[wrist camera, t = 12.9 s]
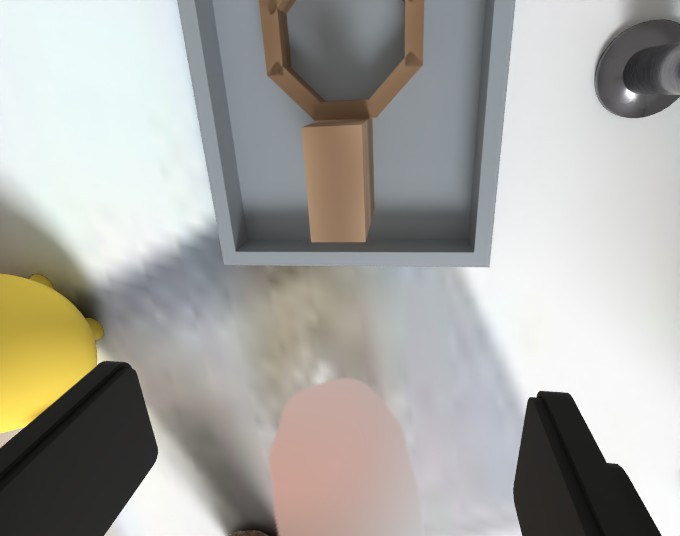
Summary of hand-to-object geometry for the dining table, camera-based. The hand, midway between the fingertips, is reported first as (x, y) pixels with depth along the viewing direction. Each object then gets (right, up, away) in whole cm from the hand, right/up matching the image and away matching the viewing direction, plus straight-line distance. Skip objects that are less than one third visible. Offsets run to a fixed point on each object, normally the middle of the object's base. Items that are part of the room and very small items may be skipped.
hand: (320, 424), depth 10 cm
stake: (+18, +15, +14) cm, 27 cm away
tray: (+1, +15, +16) cm, 22 cm away
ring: (+1, +15, +16) cm, 22 cm away
